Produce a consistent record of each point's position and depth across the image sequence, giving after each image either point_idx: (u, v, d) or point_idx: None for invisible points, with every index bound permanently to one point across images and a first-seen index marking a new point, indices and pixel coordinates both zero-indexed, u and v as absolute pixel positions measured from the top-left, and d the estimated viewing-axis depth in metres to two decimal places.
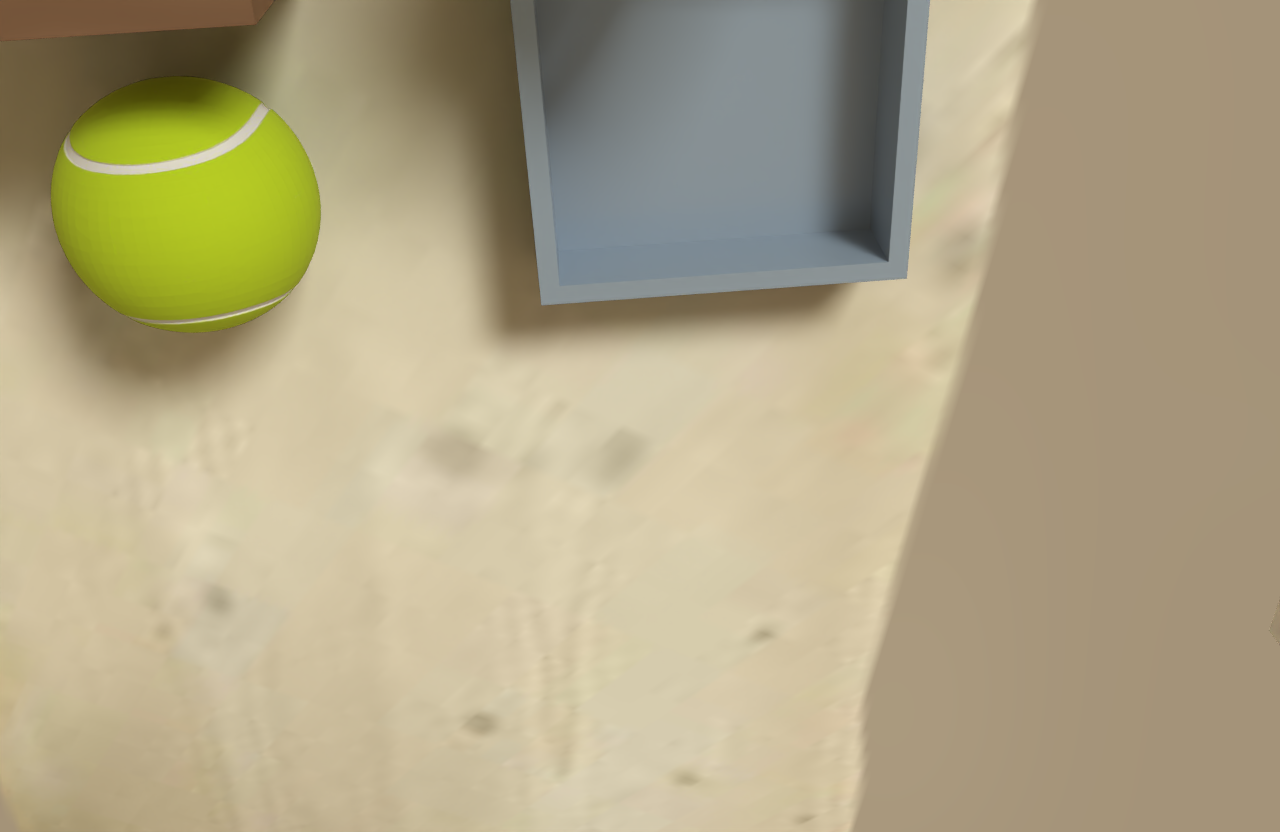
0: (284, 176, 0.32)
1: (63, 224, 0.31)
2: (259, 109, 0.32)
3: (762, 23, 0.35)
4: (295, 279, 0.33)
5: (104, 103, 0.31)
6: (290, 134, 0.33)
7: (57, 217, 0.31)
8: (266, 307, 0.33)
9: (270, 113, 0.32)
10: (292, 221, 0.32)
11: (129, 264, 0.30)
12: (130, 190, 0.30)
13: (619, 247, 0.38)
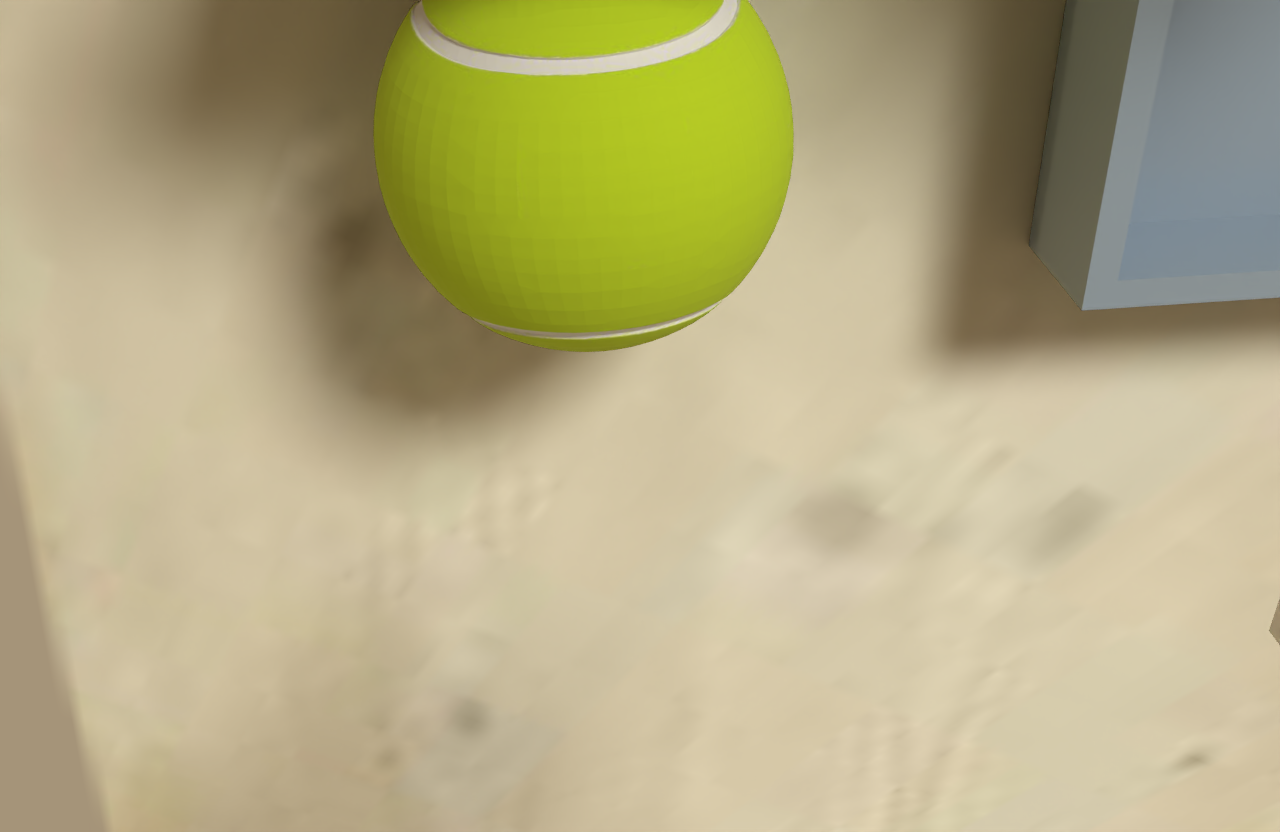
0: (778, 90, 0.19)
1: (416, 165, 0.18)
2: None
3: None
4: None
5: None
6: None
7: (403, 154, 0.18)
8: (708, 311, 0.20)
9: None
10: (783, 167, 0.19)
11: (542, 235, 0.17)
12: (560, 103, 0.17)
13: (1161, 222, 0.25)
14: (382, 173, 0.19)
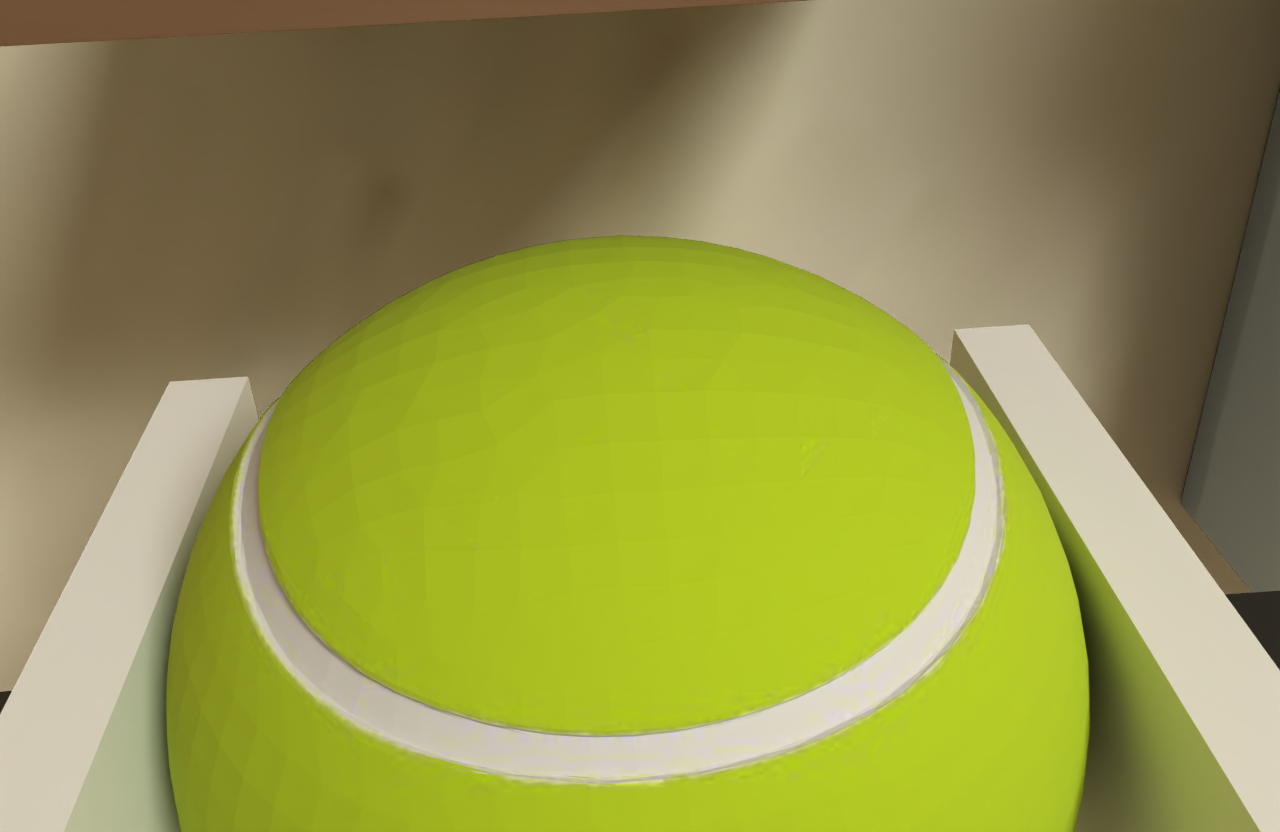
0: (1081, 648, 0.08)
1: None
2: None
3: None
4: None
5: (408, 383, 0.07)
6: None
7: None
8: None
9: (961, 376, 0.09)
10: None
11: None
12: None
13: None
14: None
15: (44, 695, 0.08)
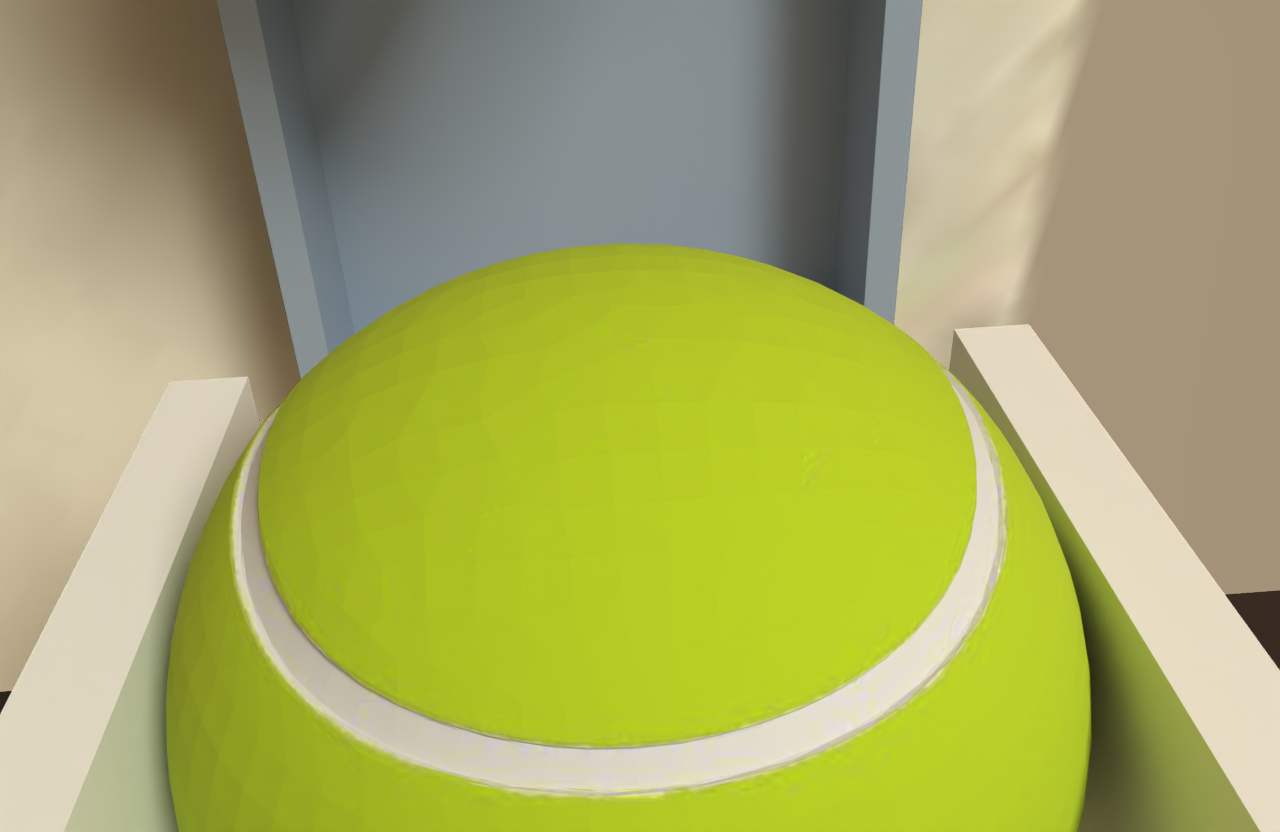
0: (1082, 657, 0.08)
1: None
2: None
3: (657, 3, 0.21)
4: None
5: (408, 392, 0.07)
6: None
7: None
8: None
9: (962, 384, 0.09)
10: None
11: None
12: None
13: None
14: None
15: (44, 695, 0.08)
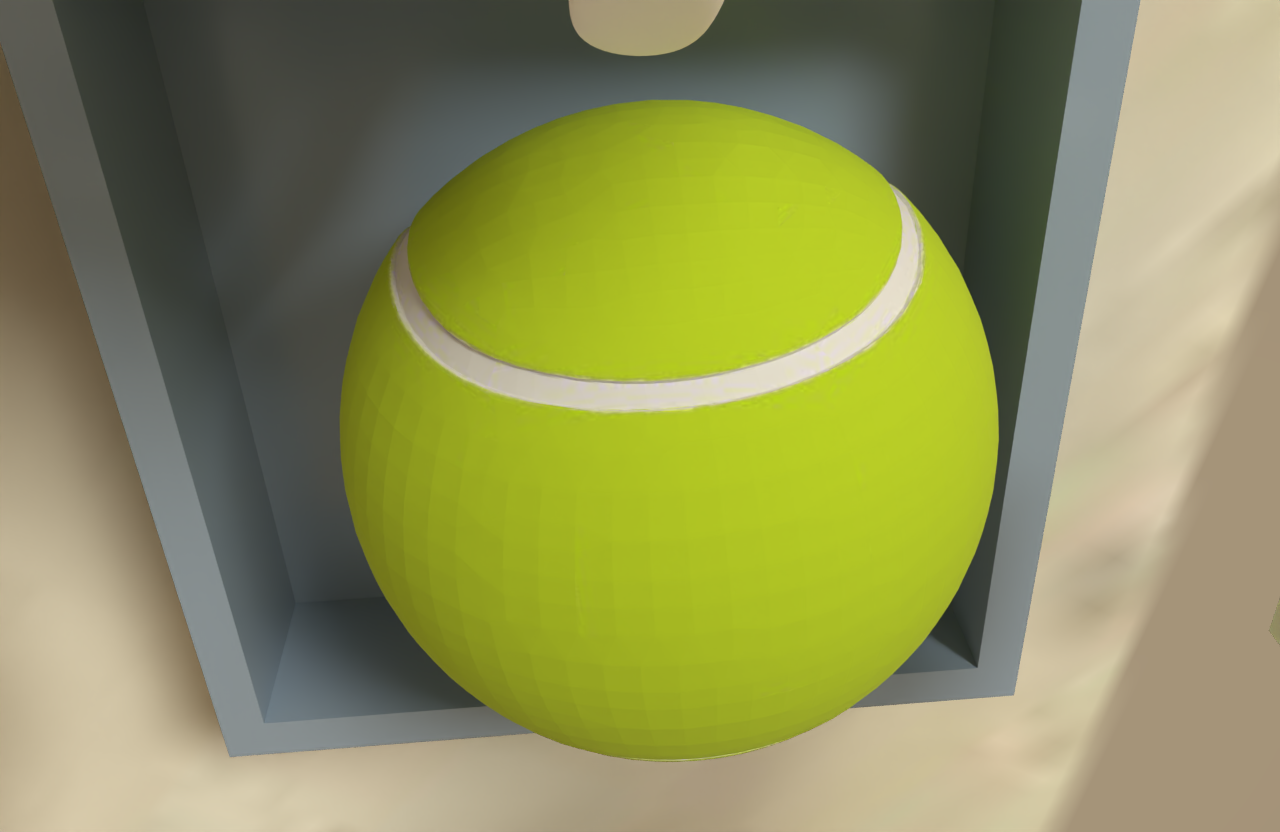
0: (986, 368, 0.12)
1: (406, 534, 0.11)
2: None
3: None
4: None
5: (511, 185, 0.11)
6: None
7: (383, 511, 0.11)
8: None
9: (900, 191, 0.12)
10: (992, 484, 0.12)
11: (619, 661, 0.10)
12: (648, 460, 0.10)
13: None
14: (354, 516, 0.12)
15: None
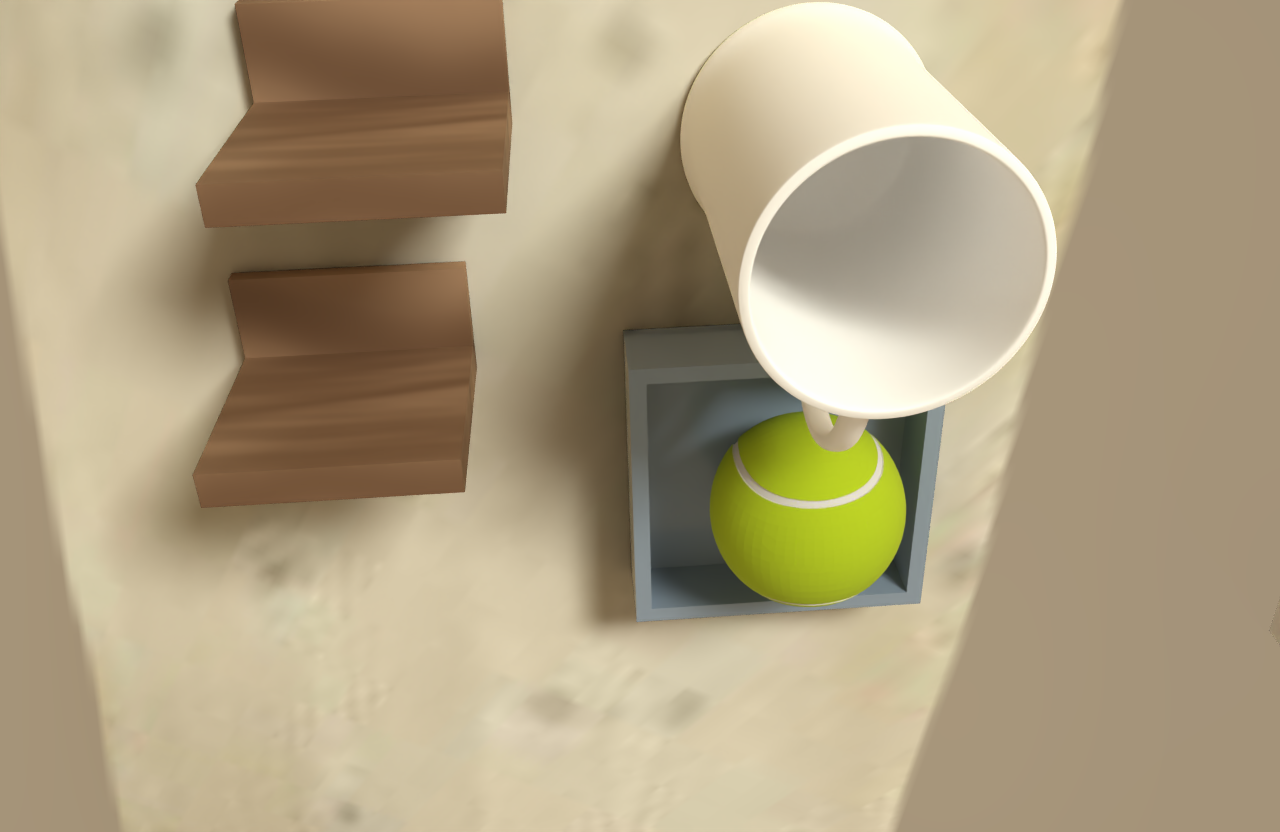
0: (901, 494, 0.41)
1: (745, 538, 0.41)
2: (873, 439, 0.42)
3: None
4: None
5: (773, 445, 0.41)
6: None
7: (738, 532, 0.41)
8: None
9: None
10: (903, 526, 0.42)
11: (804, 571, 0.40)
12: (815, 520, 0.39)
13: (694, 566, 0.48)
14: (721, 533, 0.42)
15: None
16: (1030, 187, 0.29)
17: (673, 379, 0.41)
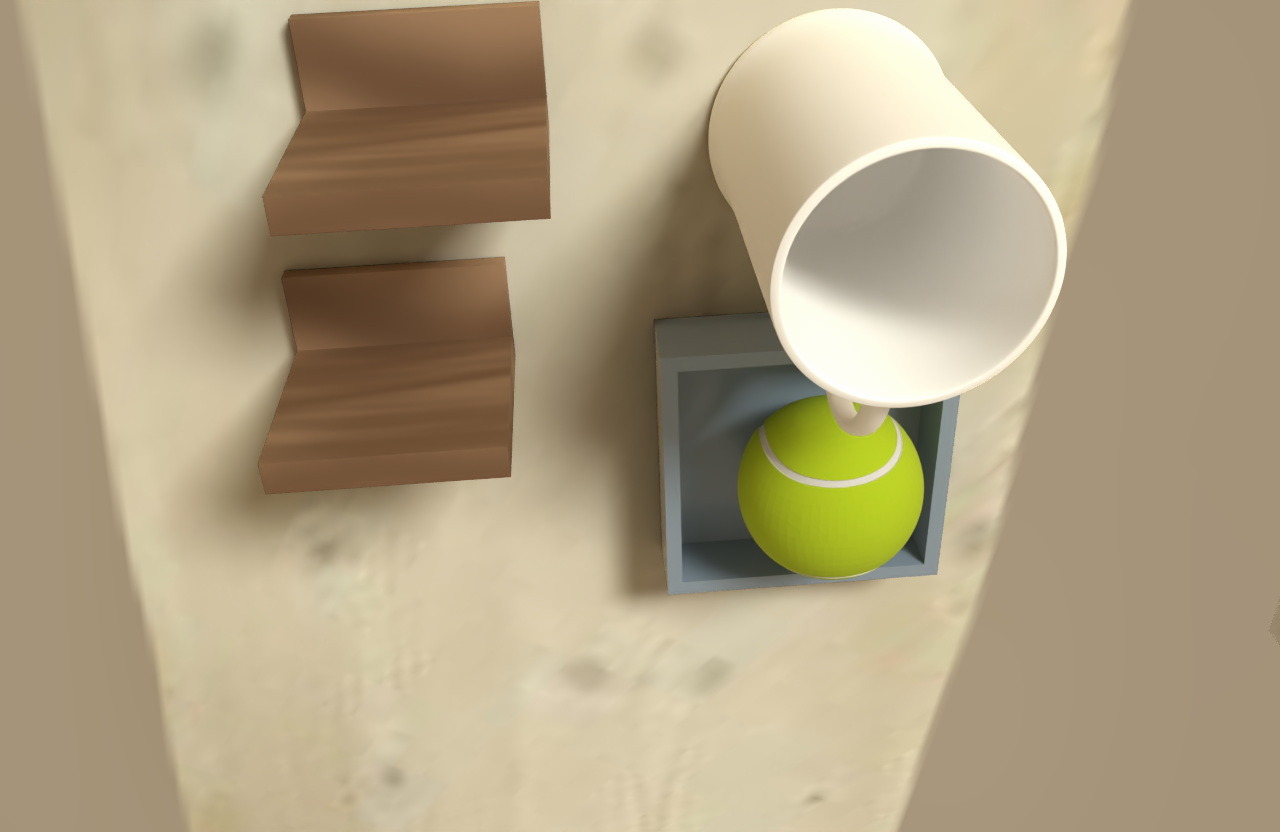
0: (919, 473, 0.44)
1: (773, 516, 0.43)
2: (892, 421, 0.44)
3: None
4: None
5: (798, 428, 0.43)
6: None
7: (765, 510, 0.43)
8: None
9: (897, 422, 0.45)
10: (921, 503, 0.44)
11: (828, 547, 0.43)
12: (838, 498, 0.42)
13: (722, 541, 0.51)
14: (749, 511, 0.44)
15: None
16: (1042, 193, 0.31)
17: (702, 366, 0.43)
